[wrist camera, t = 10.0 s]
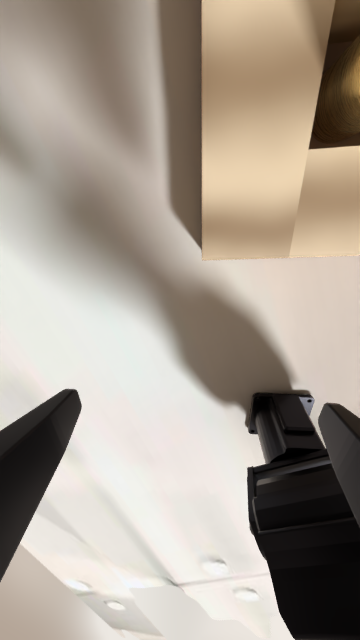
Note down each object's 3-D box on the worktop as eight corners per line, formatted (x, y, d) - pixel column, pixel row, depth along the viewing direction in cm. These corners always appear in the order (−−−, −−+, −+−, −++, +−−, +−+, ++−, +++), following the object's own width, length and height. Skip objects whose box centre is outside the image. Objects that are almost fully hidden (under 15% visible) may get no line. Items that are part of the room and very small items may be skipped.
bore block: (414, 242, 16) (474, 251, 13) (201, 250, 18) (202, 260, 14) (589, -165, 9) (848, -414, 5) (201, -91, 10) (201, -248, 7)
